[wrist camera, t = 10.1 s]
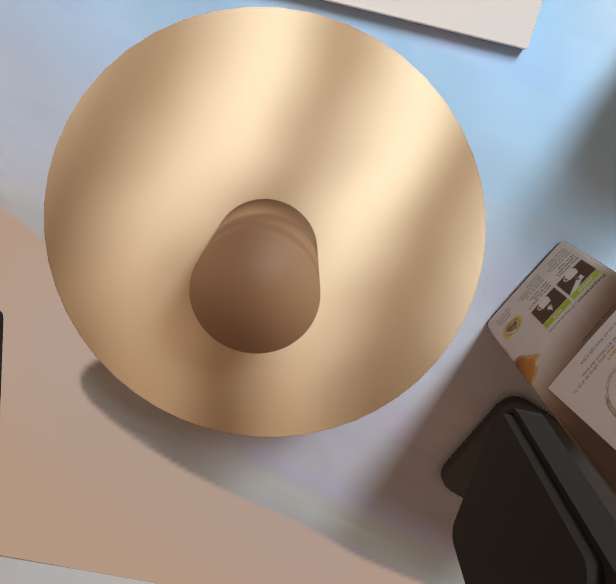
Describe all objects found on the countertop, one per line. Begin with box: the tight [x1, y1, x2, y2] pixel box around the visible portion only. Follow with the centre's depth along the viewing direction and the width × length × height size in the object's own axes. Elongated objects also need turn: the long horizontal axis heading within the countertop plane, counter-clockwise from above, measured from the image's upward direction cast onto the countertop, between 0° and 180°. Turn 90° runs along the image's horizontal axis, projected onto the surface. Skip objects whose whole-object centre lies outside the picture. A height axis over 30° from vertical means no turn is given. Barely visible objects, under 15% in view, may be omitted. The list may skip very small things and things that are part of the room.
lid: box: [44, 7, 486, 437], centre depth 20 cm, size 17×17×6 cm
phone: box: [441, 397, 616, 521], centre depth 35 cm, size 7×1×15 cm
